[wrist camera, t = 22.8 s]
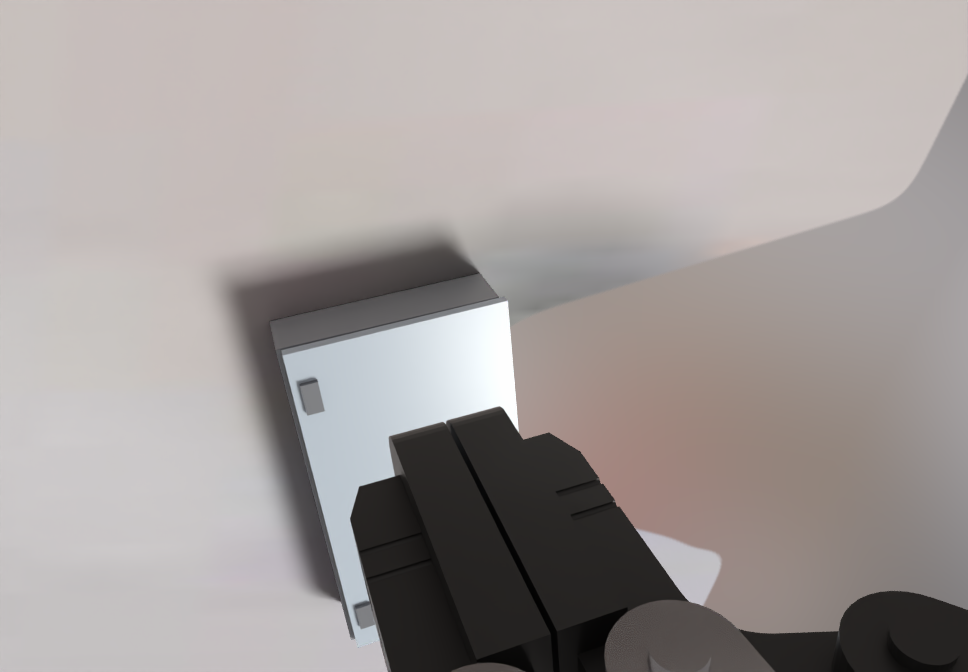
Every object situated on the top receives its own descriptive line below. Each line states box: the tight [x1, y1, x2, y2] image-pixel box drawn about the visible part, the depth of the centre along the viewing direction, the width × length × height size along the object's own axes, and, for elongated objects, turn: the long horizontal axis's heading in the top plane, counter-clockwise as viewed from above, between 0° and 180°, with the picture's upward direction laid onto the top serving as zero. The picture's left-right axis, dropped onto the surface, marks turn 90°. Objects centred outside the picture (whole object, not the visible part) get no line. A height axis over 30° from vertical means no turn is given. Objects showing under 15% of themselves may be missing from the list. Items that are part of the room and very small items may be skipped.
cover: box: [281, 297, 519, 648], centre depth 51 cm, size 13×24×1 cm, turn 5°
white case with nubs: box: [269, 273, 499, 640], centre depth 53 cm, size 13×24×4 cm, turn 5°
